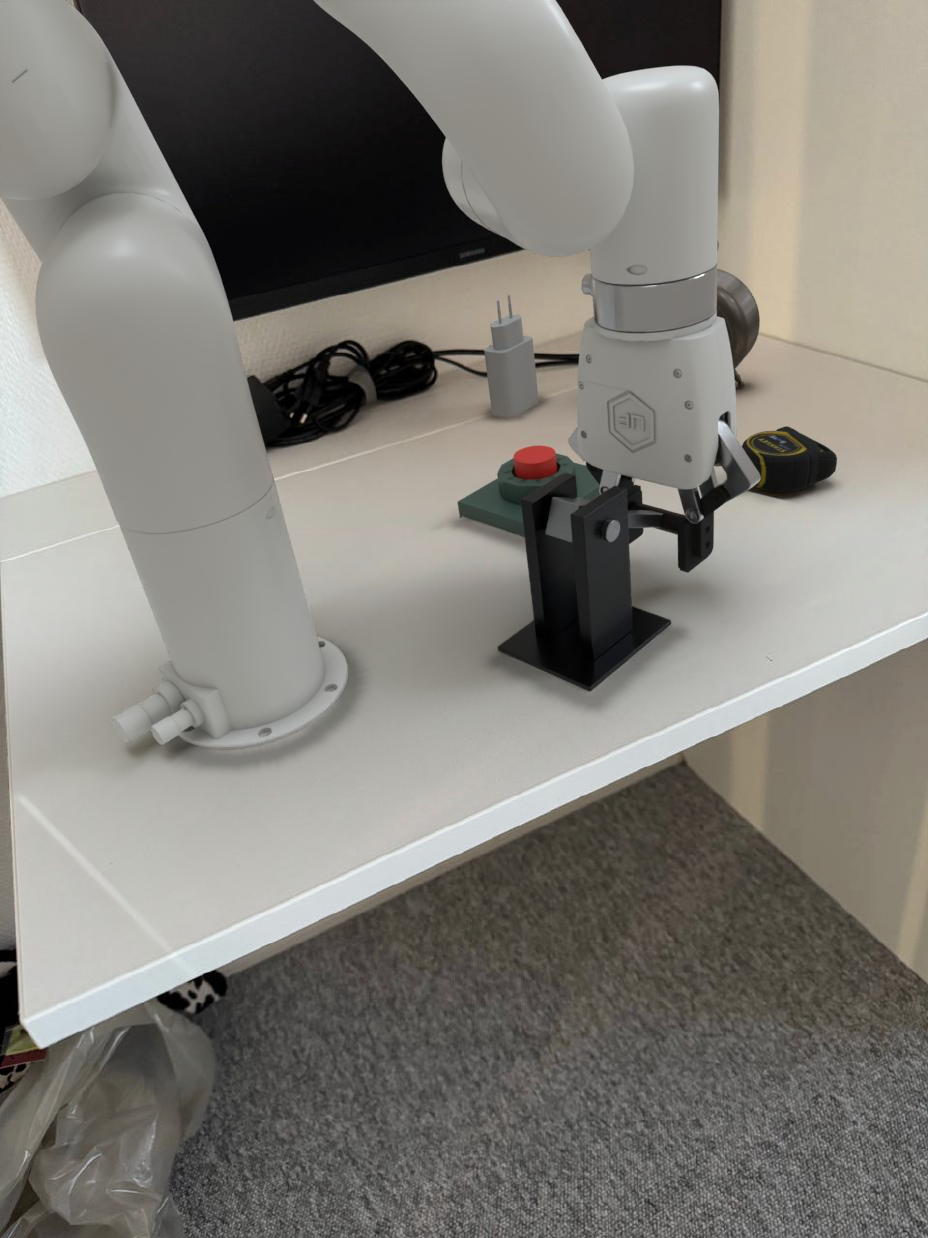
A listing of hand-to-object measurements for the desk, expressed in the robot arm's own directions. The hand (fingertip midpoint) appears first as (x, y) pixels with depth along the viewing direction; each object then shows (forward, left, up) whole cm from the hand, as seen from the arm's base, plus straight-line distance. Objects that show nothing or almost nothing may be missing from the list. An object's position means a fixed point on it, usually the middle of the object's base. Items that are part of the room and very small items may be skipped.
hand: (660, 550), depth 68 cm
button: (+5, +16, 0) cm, 17 cm away
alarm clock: (+35, +19, -3) cm, 40 cm away
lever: (-5, 0, +4) cm, 7 cm away
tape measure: (+20, +1, -3) cm, 20 cm away
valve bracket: (-9, 0, -3) cm, 10 cm away
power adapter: (+22, +34, -3) cm, 41 cm away
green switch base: (+5, +16, -3) cm, 17 cm away
